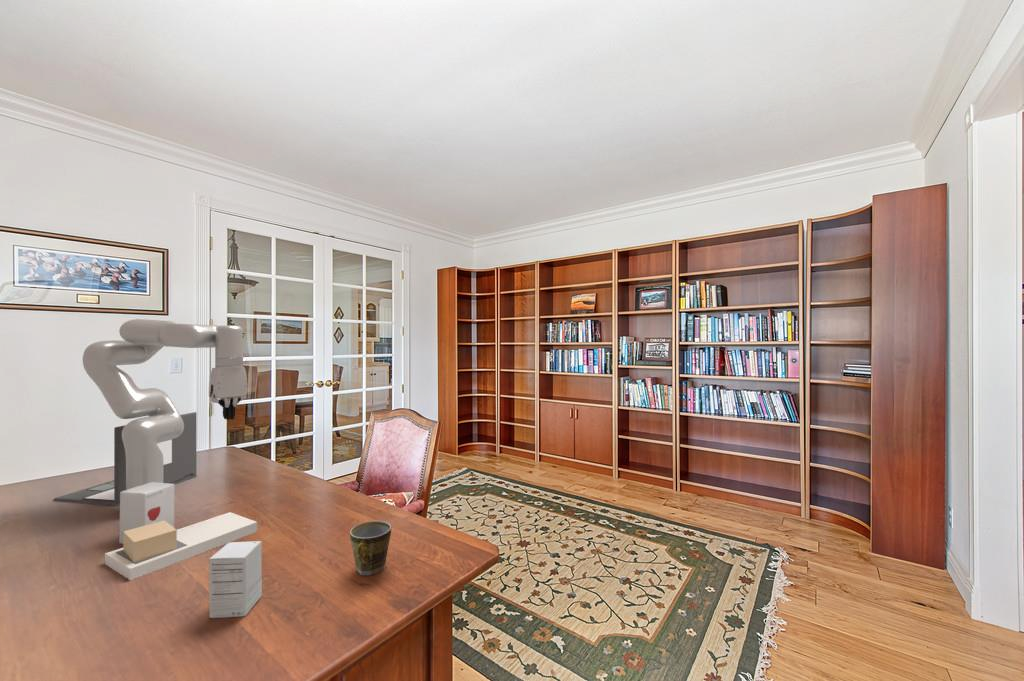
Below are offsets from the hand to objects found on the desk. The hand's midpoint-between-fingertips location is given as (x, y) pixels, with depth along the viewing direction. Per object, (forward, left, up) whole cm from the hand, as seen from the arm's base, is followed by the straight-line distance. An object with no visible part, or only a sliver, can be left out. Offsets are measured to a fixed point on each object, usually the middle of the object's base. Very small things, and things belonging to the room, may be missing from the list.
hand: (229, 418), depth 138 cm
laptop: (-60, -5, -32) cm, 68 cm away
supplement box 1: (-4, -20, -32) cm, 38 cm away
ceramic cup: (+66, -1, -32) cm, 73 cm away
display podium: (+12, -17, -32) cm, 38 cm away
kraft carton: (+12, -25, -29) cm, 40 cm away
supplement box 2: (+52, -25, -32) cm, 66 cm away
